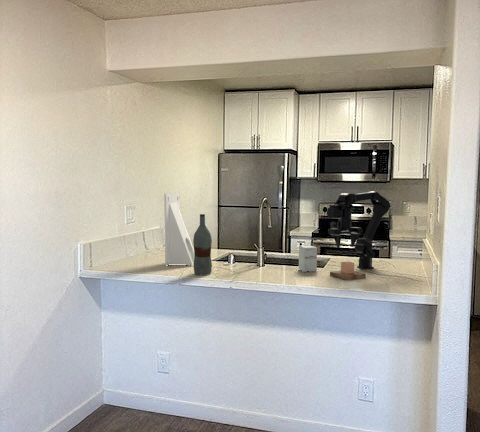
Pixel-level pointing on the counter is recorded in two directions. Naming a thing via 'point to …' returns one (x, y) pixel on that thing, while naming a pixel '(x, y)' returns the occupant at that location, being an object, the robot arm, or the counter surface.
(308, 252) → the supplement box
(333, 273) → the walnut base
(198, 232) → the bottle
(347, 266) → the terracotta block
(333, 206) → the robot arm
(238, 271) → the counter surface
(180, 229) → the white bracket plate
